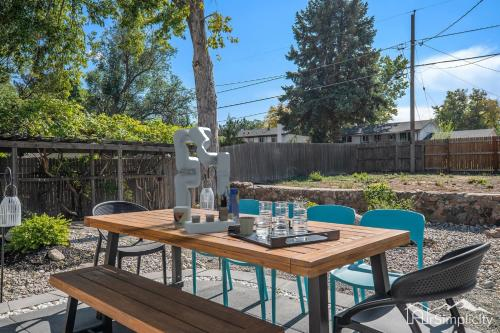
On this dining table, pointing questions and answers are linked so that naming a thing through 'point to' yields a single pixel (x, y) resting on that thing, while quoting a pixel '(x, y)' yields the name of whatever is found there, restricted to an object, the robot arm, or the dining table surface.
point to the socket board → (208, 226)
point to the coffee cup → (180, 216)
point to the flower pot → (246, 225)
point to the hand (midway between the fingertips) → (223, 206)
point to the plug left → (195, 219)
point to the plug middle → (210, 218)
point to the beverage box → (232, 205)
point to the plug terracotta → (223, 213)
